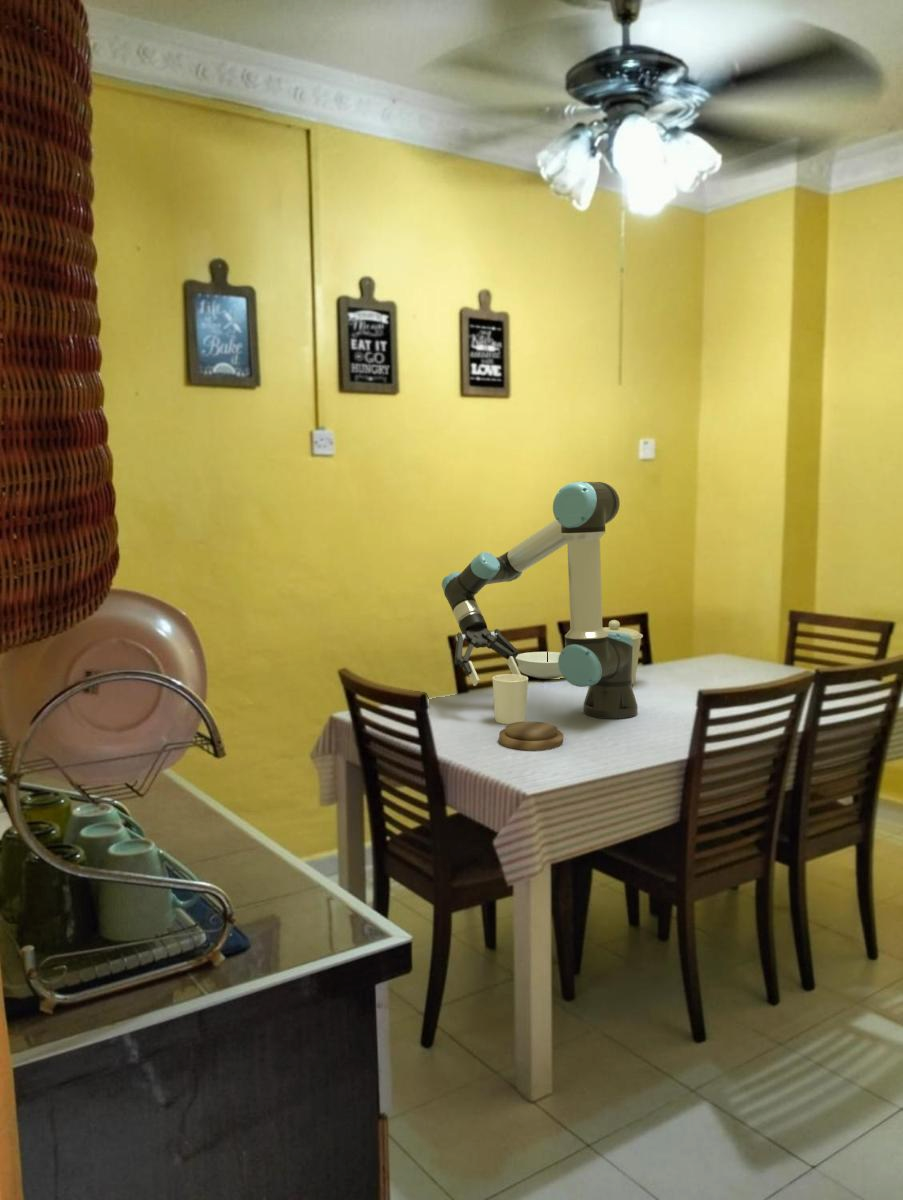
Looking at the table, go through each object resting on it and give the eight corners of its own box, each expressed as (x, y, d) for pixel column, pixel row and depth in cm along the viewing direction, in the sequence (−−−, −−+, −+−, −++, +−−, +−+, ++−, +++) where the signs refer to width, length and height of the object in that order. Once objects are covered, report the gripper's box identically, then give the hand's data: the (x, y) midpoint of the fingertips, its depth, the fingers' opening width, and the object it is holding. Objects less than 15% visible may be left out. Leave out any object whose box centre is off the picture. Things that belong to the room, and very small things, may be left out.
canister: (634, 678, 306) (635, 615, 303) (648, 691, 288) (649, 624, 285) (580, 679, 305) (581, 616, 302) (590, 691, 287) (591, 624, 285)
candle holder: (529, 725, 248) (529, 681, 246) (492, 725, 248) (492, 681, 246) (526, 716, 257) (527, 673, 256) (491, 716, 258) (491, 674, 256)
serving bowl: (579, 671, 318) (579, 652, 317) (573, 684, 298) (573, 663, 297) (519, 669, 323) (519, 649, 322) (509, 681, 303) (509, 660, 302)
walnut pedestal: (569, 736, 237) (569, 722, 236) (554, 753, 222) (554, 739, 221) (509, 730, 242) (509, 717, 242) (490, 746, 227) (490, 733, 227)
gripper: (501, 624, 276) (529, 683, 265) (427, 631, 264) (453, 692, 252) (511, 608, 270) (540, 668, 259) (436, 615, 258) (463, 677, 247)
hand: (497, 680), depth 256 cm, fingers open, 13 cm apart
